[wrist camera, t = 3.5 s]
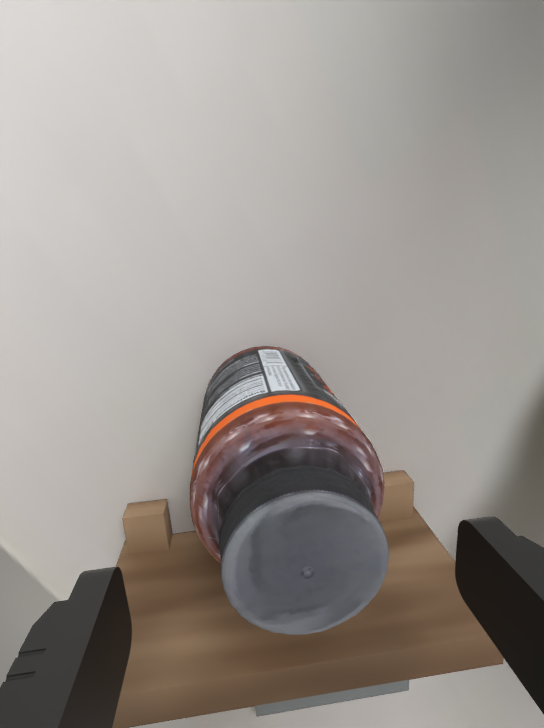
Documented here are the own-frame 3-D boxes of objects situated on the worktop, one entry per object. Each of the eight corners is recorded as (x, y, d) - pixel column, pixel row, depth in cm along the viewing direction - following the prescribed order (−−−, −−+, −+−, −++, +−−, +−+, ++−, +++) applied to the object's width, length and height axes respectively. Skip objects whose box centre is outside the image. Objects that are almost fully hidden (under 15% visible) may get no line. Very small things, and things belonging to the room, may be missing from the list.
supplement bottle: (338, 422, 21) (463, 609, 10) (236, 471, 21) (248, 709, 10) (293, 321, 19) (383, 411, 8) (182, 374, 19) (123, 534, 8)
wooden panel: (118, 504, 20) (53, 654, 13) (412, 469, 22) (513, 585, 14) (136, 596, 22) (88, 778, 14) (409, 557, 24) (497, 704, 16)
